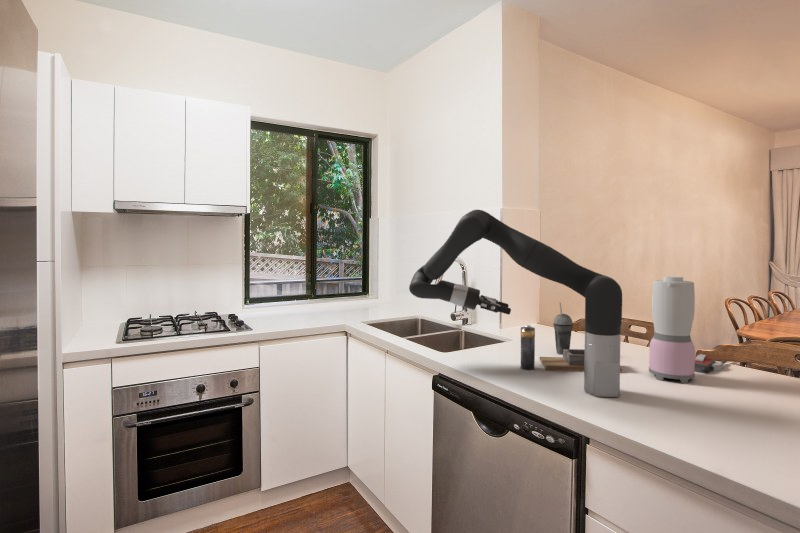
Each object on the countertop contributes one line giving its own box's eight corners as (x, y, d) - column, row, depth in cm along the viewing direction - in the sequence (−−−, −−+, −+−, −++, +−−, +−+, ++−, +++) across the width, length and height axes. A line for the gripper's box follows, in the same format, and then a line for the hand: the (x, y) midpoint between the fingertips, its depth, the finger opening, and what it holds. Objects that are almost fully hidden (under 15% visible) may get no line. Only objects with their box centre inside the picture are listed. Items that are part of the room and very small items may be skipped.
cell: (535, 370, 141) (536, 327, 141) (521, 369, 142) (521, 326, 141) (533, 366, 146) (533, 324, 145) (519, 366, 147) (519, 324, 146)
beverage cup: (574, 356, 159) (575, 304, 158) (554, 355, 161) (554, 303, 160) (570, 351, 166) (571, 301, 166) (551, 350, 168) (551, 301, 167)
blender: (696, 386, 124) (699, 278, 123) (648, 379, 131) (650, 277, 129) (691, 372, 138) (693, 275, 137) (648, 367, 144) (650, 274, 143)
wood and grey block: (622, 372, 138) (622, 349, 138) (546, 370, 141) (547, 347, 141) (608, 362, 150) (609, 341, 150) (539, 360, 153) (539, 339, 153)
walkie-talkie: (714, 377, 134) (729, 365, 147) (714, 363, 134) (729, 352, 147) (682, 371, 141) (699, 360, 154) (682, 358, 140) (699, 348, 153)
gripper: (467, 289, 142) (514, 302, 140) (467, 283, 156) (510, 296, 154) (461, 310, 143) (508, 323, 141) (461, 302, 157) (504, 315, 155)
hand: (509, 309), depth 148 cm, fingers open, 8 cm apart
